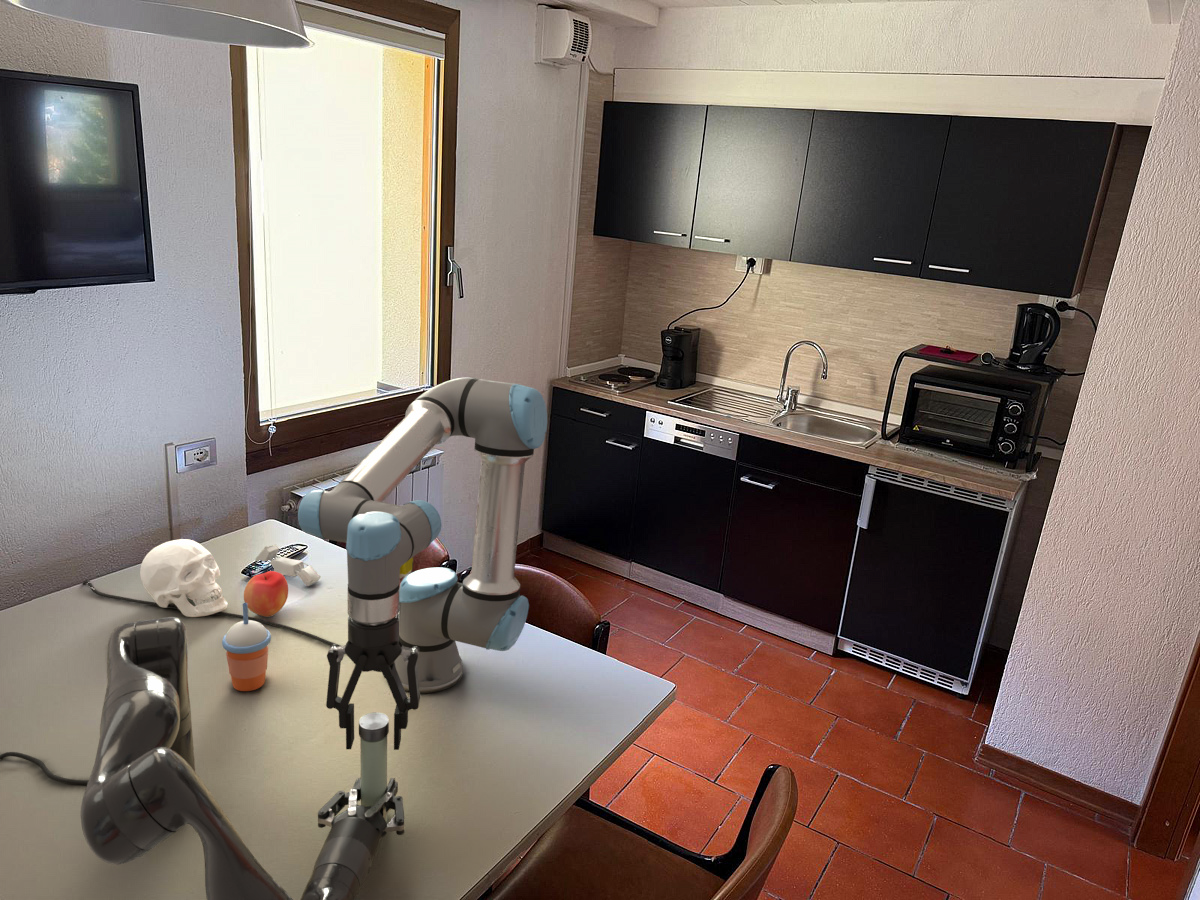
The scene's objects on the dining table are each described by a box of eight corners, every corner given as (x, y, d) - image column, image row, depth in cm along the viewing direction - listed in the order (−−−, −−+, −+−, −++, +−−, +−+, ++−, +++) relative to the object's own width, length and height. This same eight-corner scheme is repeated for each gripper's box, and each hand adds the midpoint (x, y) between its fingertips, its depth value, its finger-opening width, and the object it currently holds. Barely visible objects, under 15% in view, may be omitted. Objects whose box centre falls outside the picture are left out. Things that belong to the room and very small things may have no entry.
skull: (207, 626, 193) (204, 562, 189) (128, 607, 199) (124, 543, 195) (246, 603, 205) (245, 542, 201) (171, 585, 211) (168, 525, 207)
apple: (273, 600, 207) (272, 562, 204) (297, 613, 202) (296, 575, 199) (237, 614, 200) (234, 575, 197) (261, 628, 194) (259, 588, 191)
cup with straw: (256, 699, 169) (252, 618, 164) (214, 691, 170) (209, 610, 165) (281, 675, 177) (278, 597, 172) (242, 667, 179) (238, 590, 174)
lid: (375, 719, 138) (375, 708, 137) (395, 731, 135) (395, 720, 135) (352, 733, 134) (352, 721, 133) (372, 745, 132) (372, 733, 131)
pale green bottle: (392, 820, 141) (392, 722, 135) (374, 835, 137) (374, 735, 132) (373, 810, 142) (373, 713, 137) (355, 825, 139) (354, 726, 133)
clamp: (253, 565, 223) (254, 542, 221) (265, 560, 226) (266, 537, 224) (309, 593, 215) (310, 569, 213) (320, 588, 218) (321, 564, 216)
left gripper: (394, 842, 123) (422, 765, 140) (296, 833, 123) (335, 757, 140) (393, 884, 125) (421, 803, 142) (297, 875, 126) (336, 796, 142)
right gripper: (441, 604, 133) (438, 730, 140) (312, 600, 131) (315, 729, 138) (437, 628, 126) (434, 759, 133) (300, 624, 124) (304, 759, 131)
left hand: (378, 781), depth 141 cm, fingers closed on pale green bottle, 4 cm apart
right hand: (373, 744), depth 135 cm, fingers open, 7 cm apart
